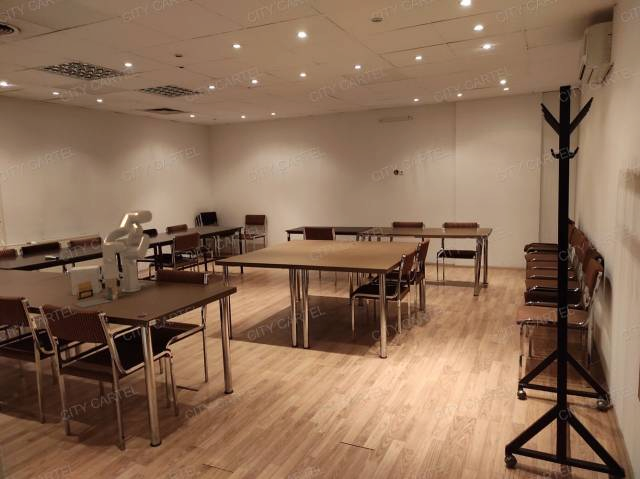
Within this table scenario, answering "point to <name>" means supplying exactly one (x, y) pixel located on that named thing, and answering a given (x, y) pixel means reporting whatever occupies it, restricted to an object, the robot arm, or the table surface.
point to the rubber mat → (92, 303)
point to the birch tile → (112, 292)
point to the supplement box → (86, 277)
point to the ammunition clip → (84, 290)
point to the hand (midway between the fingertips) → (111, 287)
